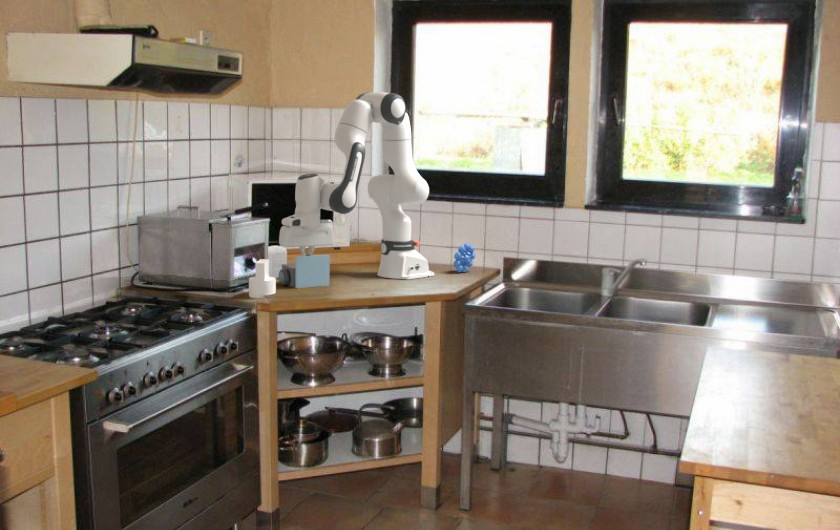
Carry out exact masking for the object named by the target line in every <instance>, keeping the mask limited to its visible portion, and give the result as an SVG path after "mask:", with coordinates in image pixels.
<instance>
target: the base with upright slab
mask: <svg viewBox="0 0 840 530" xmlns="http://www.w3.org/2000/svg"><path fill="white" fill-rule="evenodd" d="M276 282H277V278H274V277H269V259H261V258H260V259H259V260H257V261H256V262H255V276H251V277H249V278H248V297H249V298H252V299H259V298H266V299H270V297H269V296H268V295H270V296H271V295H274V294H276V292H277V291H276V290H277V286H276V285H277V283H276Z"/></svg>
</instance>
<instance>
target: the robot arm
mask: <svg viewBox="0 0 840 530" xmlns="http://www.w3.org/2000/svg"><path fill="white" fill-rule="evenodd" d="M408 114H409V113H407V107H406V101H405V99H404V98H403V97H402V96H401V95H399V94H398V93H394V92H385V91H375V92H363V93H361V94H358V96H356V98H355V99H353V100H351V101H350V102H348V103H347V105H346V107H345V109H344V111H343V112H342V115H341V117H340V119H339V122H338V124H337V127H336V130H335V133H334V139H333V140H334V143H335V145H336V147H337V148H338V150H340V152H341V153H343V154H344V156H345V160H346V161H345V165H344V169H343V170H344V171H343V174H342V178H341V180H340V182H339V183H338V184H337V183H333V182H329V181H327V180H325V179H323V178H322V177H321V176H320V175H319V174H317V173H306V174H302V175H299V176H298V177H297V179H296V183H295V192H294V193H295V194H294V195H295V196H294V197H295V198H294V200H295V206H296V207H295V210H294V214H293V215H289V216H287V217H284V218H282V220H281V224H282V226H281V227H280V230H279V236H278V244H279V246H282V247H285V248H286V249H287V248H298V250H299V252H300V253H301V256H313V255H312V254H313V253H314V251H315V249H316V247H321V246H322V247H325V246H332V245H333V244H334V243H335V233H334V222H333V221H332V220H331V219H321V209H322V210H325V211H331V212H334V213H338V214H341V215H347V214H349V213H351V212H352V211H353V210H354V209H355V207H356V205H357V203H358V195H359V194H358V189H359V184H360V181H361V176H362V171H363V166H364V164H365V158H366V148H365V146H366V145H365V144H366V139H367V137H368V133H369V129H370V128H371V125H372V123H380V125H381V127H382V134H381V137H382V139H381V141H382V144H381V145H382V160H383V162H384V163H385V164H387V165H388V166H389V167H391V169H392V171H393V174H385V173H384V174H377V175H374V176H372V177H371V178H370V180H369V181H368V183H367V194H368V196H369V197H370V199H372V201H373V202H374V203H375V204H376V207H377V208H378V210H379V213H380V216H381V221H382V223H381V224H382V238H381V241H380V251H381V256H380V262H379V263H380V264H379V268H378V272H377V274H376V275H377V276H378V277H381V278H386V279H387V278H388V279H398V280H399V279H400V280H414V279H415V280H416V279H422V278H429V277H434V276H435V271H434V272H433V271H431V270H430V269H429V262H428V260H427V258H426V257H424V256H423V255H422V253H420V252H418V251H417V249H415V247H419V246H420V241H419V240H412V220H411V218H410V216H409V215H407V214H406V213H405V212H404V211H403V208H402V206H401V205H406V206H415V205H422V204H424V203H425V202H427V199H428V197H429V195H430V187H429V184H428V183H427V180H426V179H424V178H423V177H422V175H420V173H419V172H418V169H417V168H416V166H415V163H414V159H413V147H412V145H413V144H412V128H411V122H410V117H409V115H408ZM307 247H308V249H309V250H308V252H307V253H306V248H307ZM428 276H429V277H428Z"/></svg>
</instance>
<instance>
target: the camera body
mask: <svg viewBox="0 0 840 530" xmlns="http://www.w3.org/2000/svg"><path fill="white" fill-rule="evenodd" d="M278 282H279V283H280V285H281V286H288V287H290V288H295V263H287V264H282V269H281V270H280V272H279V278H278Z"/></svg>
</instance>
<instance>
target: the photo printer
mask: <svg viewBox="0 0 840 530" xmlns="http://www.w3.org/2000/svg"><path fill="white" fill-rule="evenodd" d="M267 247H268V259H269V277H274V278H276V279H279V272H280V270H281V269H282V264H288V250H287V247H286V248H285V247H282V246H281V245H270V246H267Z"/></svg>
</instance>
